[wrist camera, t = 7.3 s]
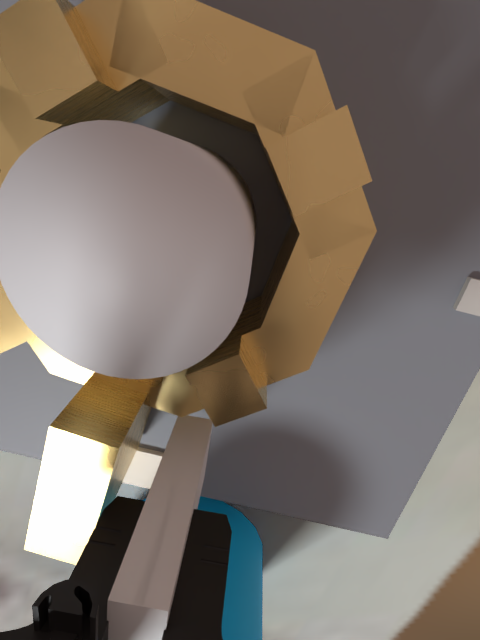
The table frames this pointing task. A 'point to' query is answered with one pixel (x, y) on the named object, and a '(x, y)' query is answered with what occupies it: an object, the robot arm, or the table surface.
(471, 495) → the table surface
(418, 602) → the table surface
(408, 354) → the housing plate
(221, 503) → the mug
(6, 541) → the table surface
